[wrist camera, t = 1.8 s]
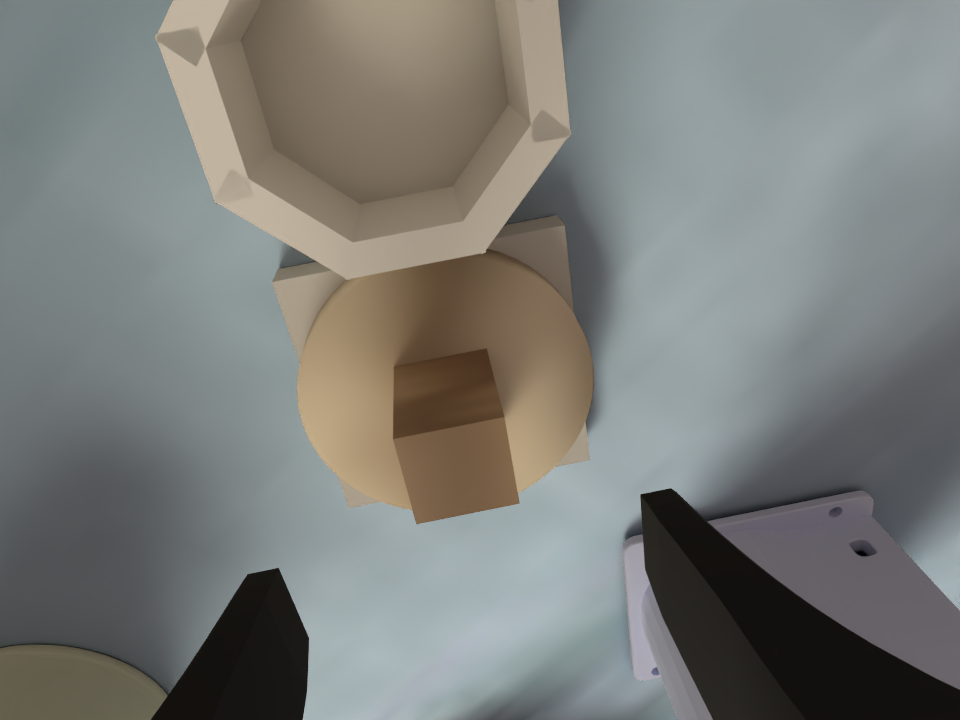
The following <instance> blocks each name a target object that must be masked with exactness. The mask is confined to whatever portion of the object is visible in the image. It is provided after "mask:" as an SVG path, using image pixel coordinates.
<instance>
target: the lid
mask: <svg viewBox="0 0 960 720" xmlns="http://www.w3.org/2000/svg"><path fill="white" fill-rule="evenodd" d="M593 387H594V372H593V363H592V357H591V352H590V349H589V346H588V343H587V340H586V337H585V334H584V332H583V330H582V329H581V327H580V325H579V323H578V321H577V319H576V317H575V315H574V314H573V312H572V310H571V308H570V307H569V305H568V304H567V302H566V301H565V300H564V298H563V297H562V295H561V294H560V293H559V292H558V290H557V289H556V288H555V287H554V286H553V285H552V284H551V283H550V282H549V281H548V280H547V279H546V278H544V277H543V276H542V275H540V274H539V273H538V272H537V271H535V270H534V269H533V268H531V267H529V266H528V265H526V264H524V263H522V262H521V261H519V260H517V259H515V258H513V257H510V256H508V255H505V254H503V253H500V252H498V251H494V250H490V249H486V253H483V254H481V253H480V254H475V255H470V256H465V257H460V258H455V259H450V260H444V261H439V262H434V263H429V264H424V265H419V266H414V267H408V268H403V269H398V270H393V271H388V272H383V273H378V274H372V275H367V276H362V277H357V278H352V279H350V280H346V281H345V282H344V283H343V284H342V285H341V286H340V287H339V288H338V289H337V290H336V291H335V292H334V293H333V294H332V295H331V296H330V298H329V299H328V300H327V302H326V303H325V304H324V306H323V307H322V308H321V310H320V312H319V313H318V315H317V317H316V319H315V321H314V322H313V324H312V327H311V329H310V332H309V335H308V337H307V340H306V343H305V347H304V350H303V354H302V358H301V362H300V367H299V372H298V383H297V396H298V406H299V412H300V415H301V419H302V423H303V426H304V429H305V431H306V433H307V435H308V438H309V440H310V442H311V443H312V445H313V447H314V448H315V450H316V451H317V453H318V455H319V456H320V457H321V458H322V460H323V461H324V462H325V463H326V464H327V466H328V467H329V468H330V469H331V470H332V471H333V472H334V473H335V474H337V475H338V476H339V477H340V478H341V479H342V480H343V481H345V482H346V483H348V484H349V485H351V486H352V487H353V488H355V489H356V490H358V491H360V492H362V493H364V494H366V495H367V496H369V497H371V498H374V499H376V500H379V501H381V502H384V503H386V504H390V505H393V506H397V507H401V508H404V509H410V510H413V514H414V517H415V521H416V524H420V523H425V522H430V521H435V520H440V519H445V518H449V517H454V516H459V515H464V514H469V513H474V512H479V511H484V510H489V509H494V508H499V507H504V506H509V505H514V504H519V497H518V493H519V492H521V491H523V490H525V489H526V488H528V487H529V486H531V485H532V484H534V483H536V482H537V481H538V480H540V479H541V478H542V477H543V476H545V475H546V474H547V473H548V472H550V471H551V470H552V469H553V468H554V467H555V466H556V465H557V464H558V463H559V462H560V461H561V460H562V459H563V457H564V456H565V455H566V453H567V452H568V451H569V450H570V448H571V447H572V446H573V444H574V442H575V441H576V439H577V437H578V436H579V434H580V432H581V430H582V428H583V426H584V423H585V421H586V419H587V416H588V412H589V409H590V405H591V402H592V394H593Z"/></svg>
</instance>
